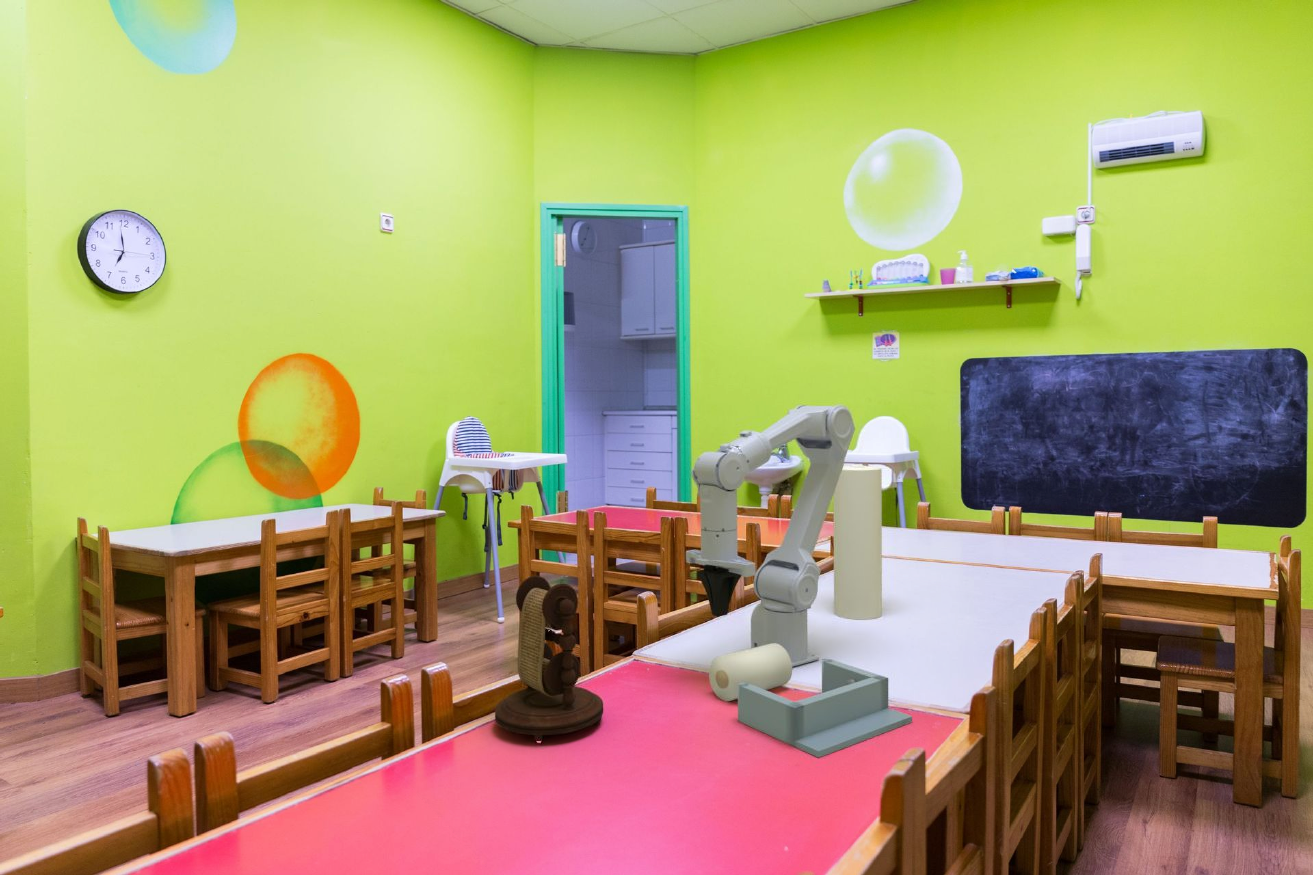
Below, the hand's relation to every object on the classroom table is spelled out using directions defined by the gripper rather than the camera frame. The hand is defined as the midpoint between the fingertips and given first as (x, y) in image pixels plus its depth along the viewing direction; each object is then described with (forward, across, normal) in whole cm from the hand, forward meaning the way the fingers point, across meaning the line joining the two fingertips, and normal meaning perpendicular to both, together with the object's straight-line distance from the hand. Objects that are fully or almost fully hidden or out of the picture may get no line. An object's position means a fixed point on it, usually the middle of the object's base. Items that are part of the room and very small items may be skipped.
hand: (719, 614), depth 132 cm
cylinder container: (+10, -13, +47) cm, 50 cm away
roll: (+7, +7, 0) cm, 10 cm away
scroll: (+11, -1, -30) cm, 32 cm away
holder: (+10, +22, 0) cm, 24 cm away
